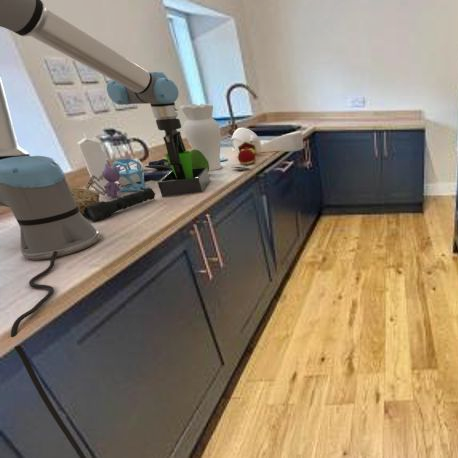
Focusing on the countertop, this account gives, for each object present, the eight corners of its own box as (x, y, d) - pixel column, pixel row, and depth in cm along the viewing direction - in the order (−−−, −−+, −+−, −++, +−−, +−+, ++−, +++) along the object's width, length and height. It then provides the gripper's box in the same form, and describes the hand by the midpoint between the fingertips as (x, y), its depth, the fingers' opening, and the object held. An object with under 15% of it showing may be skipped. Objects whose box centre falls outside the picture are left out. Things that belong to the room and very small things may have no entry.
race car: (156, 165, 151) (155, 155, 151) (142, 167, 152) (141, 156, 152) (182, 169, 166) (181, 160, 166) (169, 171, 167) (168, 161, 167)
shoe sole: (239, 153, 200) (235, 134, 196) (249, 148, 212) (246, 131, 207) (301, 151, 197) (298, 133, 193) (308, 147, 209) (305, 129, 205)
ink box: (114, 177, 142) (115, 163, 149) (122, 187, 145) (122, 173, 153) (137, 170, 144) (137, 157, 152) (144, 180, 148) (144, 166, 155)
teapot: (251, 154, 204) (237, 166, 196) (231, 131, 196) (216, 143, 189) (274, 143, 188) (259, 156, 180) (253, 118, 180) (237, 130, 173)
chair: (134, 192, 136) (123, 161, 131) (118, 191, 138) (106, 161, 133) (151, 186, 143) (142, 157, 138) (135, 185, 145) (125, 156, 140)
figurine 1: (98, 195, 127) (96, 163, 128) (113, 198, 134) (111, 168, 135) (114, 193, 127) (111, 161, 128) (128, 196, 134) (125, 166, 135)
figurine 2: (241, 160, 184) (239, 170, 171) (236, 141, 179) (233, 150, 166) (258, 157, 186) (257, 167, 173) (253, 139, 181) (252, 148, 168)
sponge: (68, 209, 124) (40, 216, 106) (66, 187, 123) (37, 190, 105) (114, 209, 130) (95, 216, 112) (113, 188, 128) (93, 191, 111)
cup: (187, 184, 134) (178, 156, 129) (167, 184, 136) (158, 155, 131) (203, 178, 142) (196, 150, 137) (184, 177, 144) (176, 150, 139)
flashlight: (86, 221, 110) (80, 206, 108) (148, 199, 128) (143, 186, 126) (97, 222, 109) (91, 207, 107) (158, 200, 126) (153, 187, 124)
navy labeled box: (181, 168, 159) (166, 174, 150) (183, 175, 161) (168, 181, 152) (143, 168, 161) (126, 174, 152) (145, 174, 162) (128, 180, 153)
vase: (227, 170, 164) (211, 104, 152) (192, 174, 160) (173, 106, 148) (230, 163, 177) (216, 102, 165) (198, 166, 173) (181, 104, 161)
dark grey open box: (202, 192, 134) (198, 177, 132) (162, 196, 130) (157, 182, 128) (210, 180, 149) (206, 167, 147) (174, 184, 146) (170, 170, 143)
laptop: (230, 169, 163) (230, 165, 162) (240, 169, 168) (240, 165, 167) (240, 171, 159) (240, 167, 159) (250, 171, 164) (250, 166, 164)
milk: (99, 193, 137) (75, 136, 128) (95, 190, 141) (72, 134, 132) (117, 189, 141) (95, 133, 132) (114, 186, 145) (92, 132, 136)
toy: (232, 157, 186) (217, 161, 177) (232, 159, 186) (218, 163, 178) (212, 156, 190) (197, 160, 182) (212, 157, 191) (197, 162, 182)
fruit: (198, 174, 159) (191, 147, 154) (215, 174, 158) (208, 147, 153) (187, 179, 152) (179, 151, 147) (204, 179, 151) (196, 151, 146)
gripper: (170, 120, 121) (189, 184, 130) (185, 114, 139) (200, 170, 148) (145, 122, 119) (166, 186, 128) (163, 115, 137) (180, 172, 146)
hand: (185, 177), depth 138 cm, fingers closed on cup, 8 cm apart
